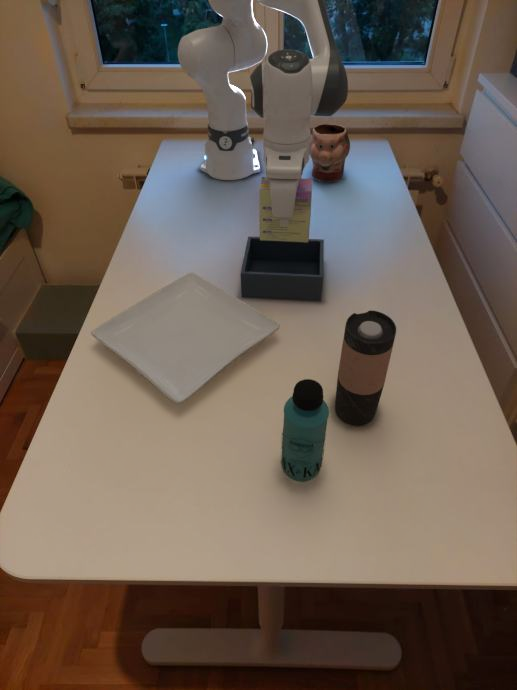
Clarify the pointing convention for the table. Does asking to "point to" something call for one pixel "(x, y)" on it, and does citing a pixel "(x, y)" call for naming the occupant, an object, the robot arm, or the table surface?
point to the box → (296, 224)
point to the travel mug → (363, 366)
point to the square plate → (185, 334)
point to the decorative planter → (329, 151)
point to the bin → (283, 270)
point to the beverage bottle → (304, 431)
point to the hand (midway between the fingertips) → (284, 215)
